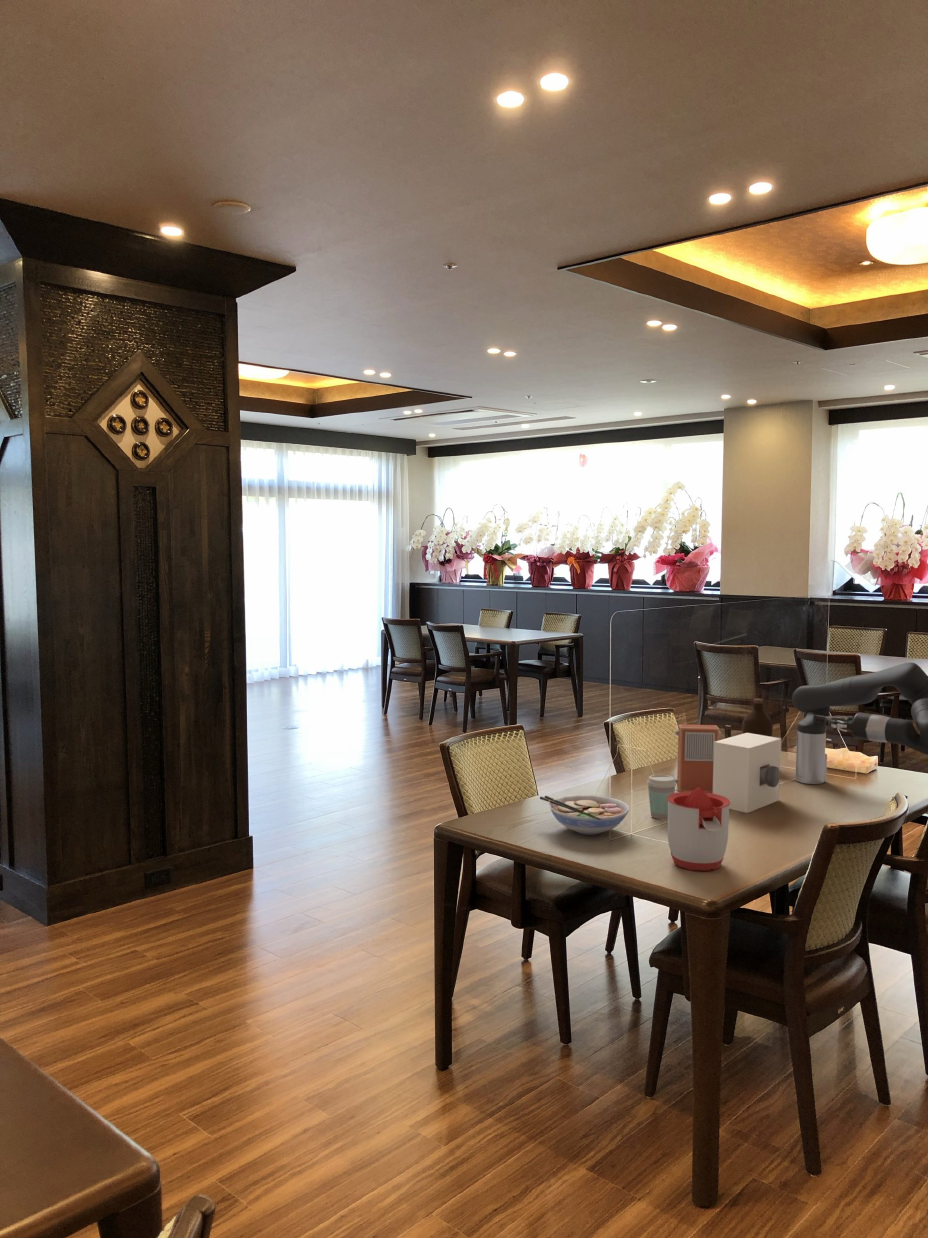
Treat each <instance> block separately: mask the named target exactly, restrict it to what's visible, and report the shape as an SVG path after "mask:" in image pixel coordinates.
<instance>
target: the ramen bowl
mask: <svg viewBox="0 0 928 1238" xmlns="http://www.w3.org/2000/svg"><path fill="white" fill-rule="evenodd" d="M539 799H540V800H542V801H545V802H547V803H548V805H549V806H548V807H549V808H550V811H551V813H552V815H553V816H554V818H555V819H556V820H557V822H558V823H559V824H560V825H562V826H563V827H565V828H567V829H568V830H571V831H574V832H575V833H578V834H580V835H585V836H594V835H595V836H596V835H600V834H601V833H604V832H607V831H610V830H613V829H615V828H616V827H617V826H619V825H620V823H621V822H622V821H623V820H624V819H625V818H626V817H627V816H628V813H629V811H630V806H629V805H628V804H627V803H626V802H624V801H623V800H620V799H616V798H611V797H608V796H601V795H593V794H592V795H590V794H586V795H585V794H584V795H583V794H577V795H566V796H562V797H557V798H553V797H550V796H549V795H544V796H539Z"/></svg>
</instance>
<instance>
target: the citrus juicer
mask: <svg viewBox="0 0 928 1238" xmlns="http://www.w3.org/2000/svg"><path fill="white" fill-rule="evenodd" d="M667 800H668V819H667V842H668V847H669V850H670V855H671V858H672V861H673V863H674V864H675V865H677V866H678V867H681V868H683V869H686V870H688V871H712V870H711V869H713V870H716V869H715V868H717V869H718V868H719V867H720V866H721V864H722V863H723V860H724V857H725V854H726V850H727V845H728V839H729V823H730V822H729V819H730V809H729V805H730V801H729V799H727V798H726V797H723V796H721V795H717V794H713V793H712V792H704V791H703V790H702V789H701V788H696V789H695V790H694V791H685V792H680V791H677V792H674V793H673V794H670V795H669V796H668V797H667Z"/></svg>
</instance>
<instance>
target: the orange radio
mask: <svg viewBox="0 0 928 1238" xmlns="http://www.w3.org/2000/svg"><path fill="white" fill-rule="evenodd" d="M677 726H678V729H676V730H674V734H675V735H676V736H677V766H676V767H677V770H676V771H677V772H676V773H677V774H676V776H677V777H676V778H674V779H675V782H676V788H677V790H678V792H685V791H694V790H695V789H696V788H701V789H702V790H703V791H704V792H707V793H713V763H714V742H715V741H719V740H720V737H721V736H722V732H721V731H720V727H719V726H717V724H716V725H714V724H712V725H711V724H709V725H708V724H683V723H682V724H681V723H680V724H678V725H677Z"/></svg>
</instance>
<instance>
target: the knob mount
mask: <svg viewBox="0 0 928 1238" xmlns="http://www.w3.org/2000/svg"><path fill="white" fill-rule="evenodd" d="M781 755H782V738H781V737H774V736H772V737H769V736H764V735H758V734H752V733H744V734H742V733H741V734H737V735H733V736H730V737H727V738H722V739H719V741H715V742H714V763H713V794H717V795H721V796H723V797H726V798H727V799H729V801H730V805H729V810H733V811H736V812H737V811H738V812H741V813H744V814H745V813H746V814H748V813H751V812H753V811H755V810H759V809H761V808H763V807H766V806H768V805H771V804H774V803H776V802H779V801H780V788H781V784H780V783H781V778H780V779H779V782H778V784H777V786H776V787H769V786H767V784H766V782H761V781H760V767H764V768H769V767H770V766H776V767H778V768H779V770H780V771H781V763H782V761H781V758H782V757H781Z"/></svg>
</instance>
